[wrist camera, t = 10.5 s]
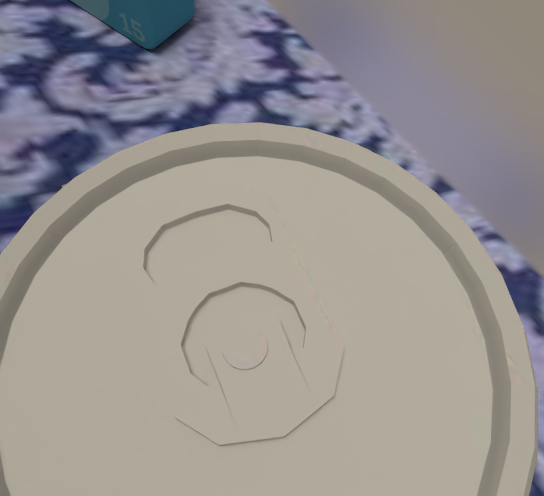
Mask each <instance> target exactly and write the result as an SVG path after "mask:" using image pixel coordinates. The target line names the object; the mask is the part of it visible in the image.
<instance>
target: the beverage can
mask: <svg viewBox="0 0 544 496" xmlns="http://www.w3.org/2000/svg"><path fill="white" fill-rule="evenodd" d="M537 456H538V391H537V386H536V381H535V376H534V371H533V366H532V361H531V356H530V352H529V347H528V342H527V337H526V332H525V330H524V328H523V325H522V323H521V320H520V318H519V316H518V313H517V311H516V308H515V306H514V304H513V301H512V299H511V296H510V294H509V292H508V289H507V287H506V284H505V282H504V280H503V277H502V275H501V273H500V272H499V270H498V269H497V267H496V266H495V264H494V263H493V261H492V260H491V258H490V257H489V255H488V254H487V252H486V251H485V249H484V248H483V246H482V245H481V243H480V242H479V240H478V238H477V237H476V235H475V234H474V232H473V231H472V230H471V229H470V228H469V226H468V225H467V224H466V223H465V222H464V221H463V220H462V219H461V218H460V217H459V216H458V215H457V214H456V213H455V212H454V211H453V210H452V209H451V208H450V207H449V206H448V205H447V204H446V203H445V201H444V200H443V199H442V198H441V197H440V196H439V195H438V194H437V193H436V192H434V191H433V190H432V189H430V188H429V187H427V186H426V185H425V184H423V183H422V182H421V181H419V180H418V179H416V178H415V177H414V176H412V175H411V174H410V173H408V172H407V171H405V170H404V169H403V168H401V167H400V166H399V165H397V164H396V163H394V162H392V161H390V160H388V159H386V158H384V157H382V156H380V155H377V154H375V153H373V152H371V151H369V150H367V149H365V148H363V147H361V146H359V145H357V144H355V143H353V142H350V141H347V140H344V139H340V138H337V137H334V136H330V135H327V134H324V133H320V132H317V131H314V130H310V129H307V128H299V127H291V126H283V125H275V124H268V123H260V122H259V123H233V124H211V125H206V126H201V127H196V128H191V129H187V130H182V131H177V132H172V133H167V134H163V135H161V136H158V137H155V138H153V139H150V140H148V141H145V142H142V143H140V144H137V145H135V146H132V147H129V148H127V149H124V150H122V151H119V152H117V153H115V154H114V155H112V156H110V157H109V158H107V159H105V160H104V161H102V162H100V163H99V164H97V165H95V166H94V167H92V168H90V169H89V170H87V171H85V172H84V173H82V174H80V175H78V176H77V177H75V178H74V179H73V180H71V181H70V182H69V183H68V184H67V185H66V186H64V187H63V188H62V189H61V190H60V191H59V192H57V193H56V194H55V195H54V196H53V197H52V198H50V199H49V200H48V201H47V202H46V203H45V204H43V205H42V206H41V207H40V208H39V209H38V210H36V211H35V212H34V213H33V215H32V216H31V217H30V218H29V220H28V221H27V222H26V223H25V224H24V226H23V227H22V228H21V229H20V231H19V232H18V233H17V234H16V236H15V237H14V238H13V239H12V240H11V242H10V243H9V244H8V245H7V247H6V248H5V249H4V250H3V252H2V253H1V254H0V496H529V493H530V488H531V483H532V479H533V474H534V470H535V465H536V461H537Z"/></svg>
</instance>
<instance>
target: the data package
mask: <svg viewBox="0 0 544 496" xmlns="http://www.w3.org/2000/svg"><path fill="white" fill-rule="evenodd" d="M70 1H72V2H73V3H75V4H76V5H78V6H79V7H81V8H82V9H84V10H86V11H87V12H89V13H90V14H92V15H93V16H95V17H96V18H98V19H100V20H101V21H103V22H104V23H106V24H107V25H109V26H110V27H112V28H114V29H115V30H117V31H118V32H120V33H121V34H123V35H124V36H126V37H127V38H129V39H131V40H132V41H134V42H135V43H137V44H138V45H140V46H141V47H143V48H145V49H154V48H155V47H157V46H158V45H159V44H160V43H162V42H163V41H164V40H165V39H167V38H168V37H169V36H170V35H172V34H173V33H174V32H176V31H177V30H178V29H179V28H181V27H182V26H183V25H184V24H186V23H187V22H188V21H189V20H191V19H192V18H193V17H194V15H195V0H70Z"/></svg>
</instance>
